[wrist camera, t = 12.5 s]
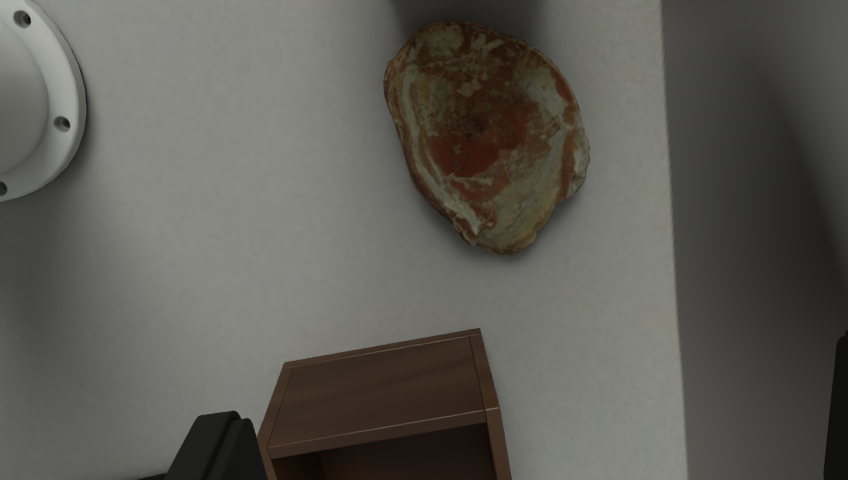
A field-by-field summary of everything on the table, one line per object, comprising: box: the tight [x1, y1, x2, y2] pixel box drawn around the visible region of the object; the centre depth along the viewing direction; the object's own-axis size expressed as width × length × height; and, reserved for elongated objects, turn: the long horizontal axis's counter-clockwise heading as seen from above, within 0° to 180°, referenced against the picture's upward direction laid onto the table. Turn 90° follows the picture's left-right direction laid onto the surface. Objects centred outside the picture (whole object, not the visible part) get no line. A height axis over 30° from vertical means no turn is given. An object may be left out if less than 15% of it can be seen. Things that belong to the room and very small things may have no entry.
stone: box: [383, 21, 590, 256], centre depth 34 cm, size 13×10×3 cm
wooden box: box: [257, 328, 512, 480], centre depth 37 cm, size 14×13×9 cm
